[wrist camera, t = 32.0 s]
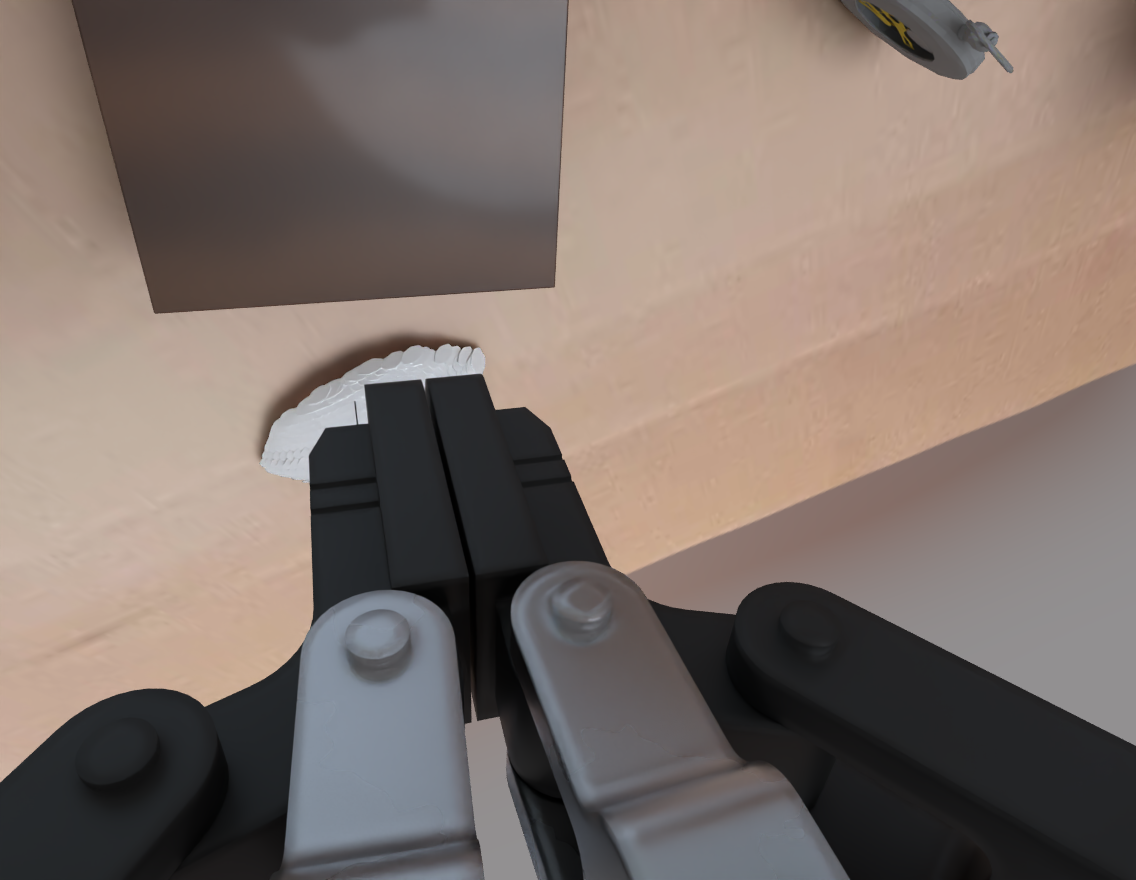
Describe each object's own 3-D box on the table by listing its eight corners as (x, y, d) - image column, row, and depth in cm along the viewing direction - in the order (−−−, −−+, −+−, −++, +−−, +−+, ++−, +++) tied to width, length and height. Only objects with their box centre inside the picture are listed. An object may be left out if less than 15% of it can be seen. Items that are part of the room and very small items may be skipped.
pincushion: (299, 498, 42) (301, 577, 37) (224, 416, 38) (215, 494, 33) (507, 393, 41) (533, 461, 37) (452, 299, 37) (474, 362, 33)
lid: (549, 279, 32) (555, 287, 31) (157, 304, 28) (154, 314, 28) (578, -352, 21) (586, -358, 21) (-36, -437, 18) (-48, -447, 17)
